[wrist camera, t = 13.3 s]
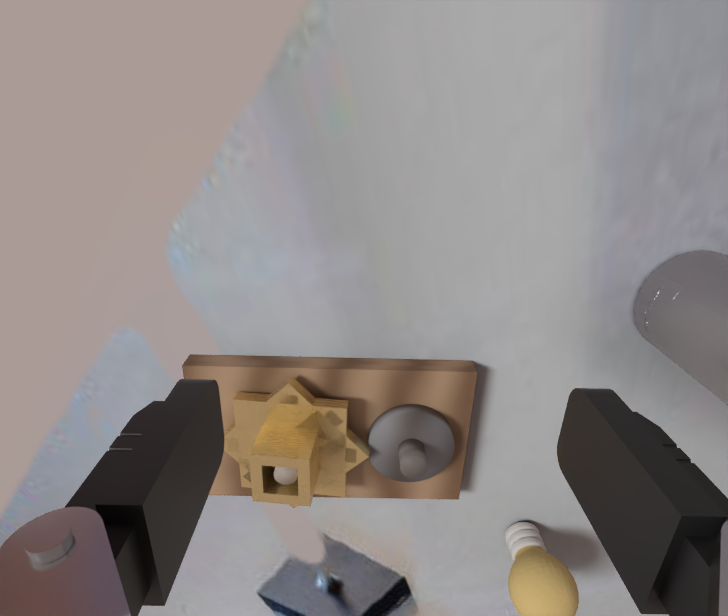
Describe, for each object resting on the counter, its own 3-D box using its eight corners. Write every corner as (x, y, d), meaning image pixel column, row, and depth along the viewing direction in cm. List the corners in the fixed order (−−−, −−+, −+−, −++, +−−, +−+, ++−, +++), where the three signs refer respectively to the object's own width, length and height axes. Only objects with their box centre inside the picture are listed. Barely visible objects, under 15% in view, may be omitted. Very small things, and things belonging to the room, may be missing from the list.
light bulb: (548, 546, 52) (588, 640, 43) (492, 553, 52) (520, 647, 43) (549, 505, 49) (592, 595, 40) (490, 512, 50) (519, 603, 41)
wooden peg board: (472, 360, 42) (492, 405, 36) (454, 484, 48) (469, 542, 42) (190, 354, 42) (158, 398, 35) (207, 480, 48) (183, 537, 41)
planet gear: (372, 382, 39) (367, 418, 34) (367, 505, 45) (362, 550, 40) (212, 370, 40) (187, 403, 36) (227, 491, 46) (206, 534, 41)
